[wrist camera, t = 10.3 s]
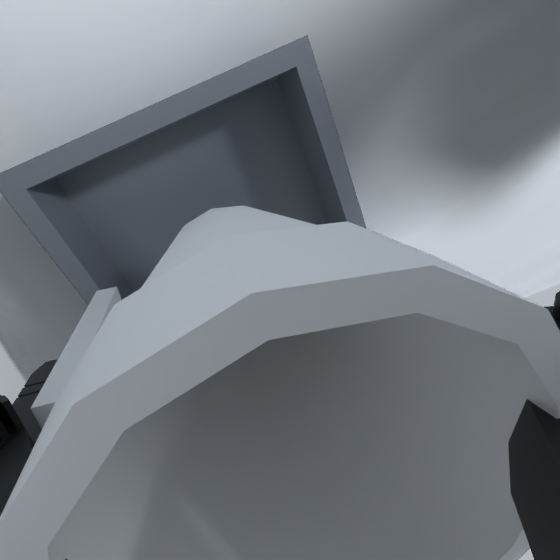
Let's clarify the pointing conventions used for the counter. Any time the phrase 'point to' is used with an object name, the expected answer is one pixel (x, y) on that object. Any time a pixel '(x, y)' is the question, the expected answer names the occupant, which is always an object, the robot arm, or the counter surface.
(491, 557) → the foam cup
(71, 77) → the counter surface
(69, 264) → the bin
